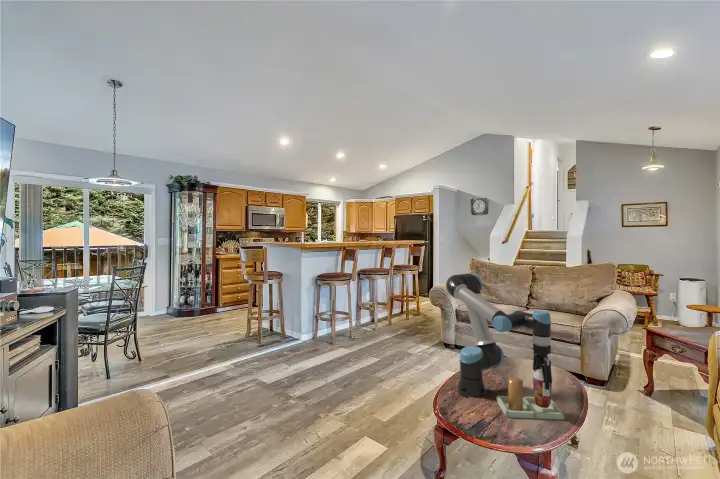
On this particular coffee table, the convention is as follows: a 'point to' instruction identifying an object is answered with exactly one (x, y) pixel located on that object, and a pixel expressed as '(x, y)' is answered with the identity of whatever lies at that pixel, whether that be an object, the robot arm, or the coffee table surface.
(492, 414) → the coffee table surface
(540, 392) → the smoothie
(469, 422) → the coffee table surface
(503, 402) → the green divided tray
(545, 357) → the robot arm
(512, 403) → the tan rounded capsule
